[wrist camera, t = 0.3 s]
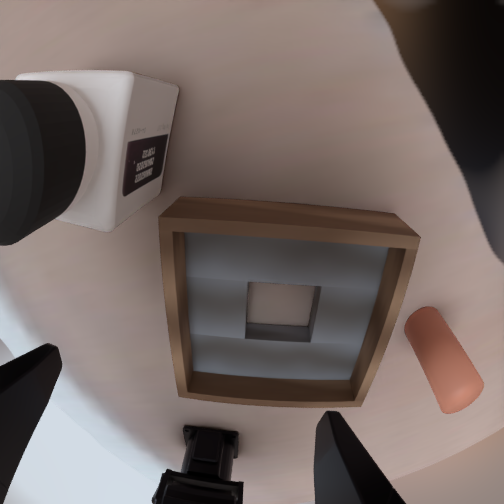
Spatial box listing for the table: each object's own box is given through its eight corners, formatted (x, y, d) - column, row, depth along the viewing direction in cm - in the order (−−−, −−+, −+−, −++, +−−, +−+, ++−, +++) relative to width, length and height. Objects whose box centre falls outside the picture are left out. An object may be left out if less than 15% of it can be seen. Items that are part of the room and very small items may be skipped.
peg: (431, 338, 25) (469, 409, 16) (399, 339, 25) (432, 416, 17) (444, 306, 23) (491, 376, 15) (411, 306, 23) (455, 382, 15)
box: (352, 370, 26) (361, 406, 22) (189, 360, 27) (178, 396, 23) (394, 213, 20) (420, 236, 16) (180, 196, 21) (158, 217, 17)
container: (181, 85, 18) (58, 53, 6) (161, 195, 21) (48, 292, 9) (85, 78, 17) (-61, 76, 6) (72, 178, 21) (-59, 244, 9)
